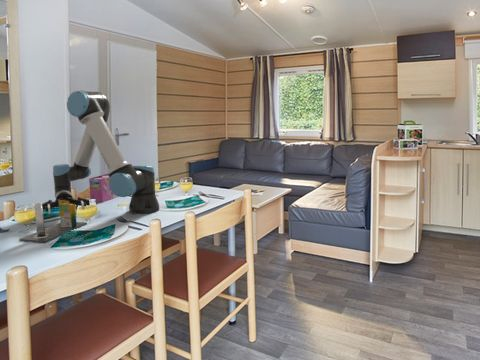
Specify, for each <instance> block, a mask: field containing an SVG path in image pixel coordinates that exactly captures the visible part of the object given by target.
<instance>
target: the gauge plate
mask: <svg viewBox="0 0 480 360" xmlns="http://www.w3.org/2000/svg"><path fill="white" fill-rule="evenodd" d="M76 223H77V226H75V227H67V226H61V225H60V222H59V223H56V224H53V225H51V226H49V227H46V228H45V236H43V237H38V236H37V231H36V232H33V233H31V234H28V235H25V236H24V237H21V238H19V239H18V241H19V242H26V243H27V242H28V243H38V244H39V243H40V244H47V243H49V242H50V241H53V240H57V239H58V238H60V237H63V236H64V235H63V234H65V233H67V232H69V231H71V230H74V229H76V230H78V229H79V228H83V227H85V226H87V225H88V222H80V221H76ZM82 226H83V227H82ZM77 228H78V229H77ZM74 231H75V230H74ZM71 232H72V231H71ZM69 233H70V232H69ZM67 234H68V233H67ZM65 235H66V234H65Z"/></svg>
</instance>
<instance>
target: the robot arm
mask: <svg viewBox="0 0 480 360" xmlns="http://www.w3.org/2000/svg"><path fill="white" fill-rule="evenodd" d="M66 109H67V112H68V113H69V114H70V115H71V116H73V117H75V118H77V119H78V121H79V123H80V124H81V125H83V126H85V129H84V132H83V135H82V138H81V141H80V144H79V146H78V151H77V153H76V156H75V160H74V162H73V165H71V166H70V165H69V164H67V163H60V164H54V165H53V167H52V175H53V176H52V177H53V184H54V197H55V200H54V201H53V200H52V199H48V200H47V201H45V202H43V203H40V204H41V205H42V208H43V211H44V210H45V212H46V213H47V212H48V215H49V214H51V209H55V208H59V202H58V200H64V201H69V204H75V206H81V209H82V211H83V210H85V207H87V206H90V203H91V201H90V199H88V198H82V197H80V196H78V197H76V199H75V198H74V197H73V194H72V183H71V182H75V181H78V180H84V179H86V178H88V177H90V176H91V173H92V169H91V167H90V165H91V162H92V158H93V155H94V152H95V150H96V148H97V149H98V152H100V156H102V159H103V160H104V163H105V164H106V166H107V168H108V169H109V171H108V173H107V174H108V175H109V177H110V179H109V187H110V190H111V191H112V192H113V193H114V194H115V195H117V196H119V197H120V198H126V197H131V198H130V202H129V206H128V212H129V213H130V214H131V213H132V214H138V215H139V214H140V215H141V214H142V215H143V214H144V215H145V214H150V213H155V212H158V211H160V203H159V200H158V198H157V196H156V183H155V182H156V179H155V168H154V167H153V166H151V165H132V163H131V162H127V160H126V158H125V157H124V155H123V152H122V151H121V149H120V148H119V145H118V144H117V142H116V140H115V138H114V137H113V134H112V133H111V130H110V129H109V127H108V125H107V122H108V119H109V116H110V111H111V105H110V101H109V99H108V98H107V95H105V94H103V93H102V92H100V91H86V90H75V91H73V92H71V93H70V94H69V96H68V97H67V101H66ZM62 203H66V202H62Z"/></svg>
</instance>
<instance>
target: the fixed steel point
mask: <svg viewBox="0 0 480 360" xmlns="http://www.w3.org/2000/svg"><path fill="white" fill-rule="evenodd" d="M41 204H42V203H40V202H37V203H35V204H34V215H35V225H36V232H37V236H38V237H43V236H45V229H46V228H45V220H44V219H45V218H44V210H43V208H42V205H41Z"/></svg>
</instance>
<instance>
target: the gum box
mask: <svg viewBox="0 0 480 360" xmlns="http://www.w3.org/2000/svg"><path fill="white" fill-rule="evenodd" d="M109 179H110V177H109V175H108V173H105V174H103V175H97V176H93V177H90V178H88V182H89V183H88V185H89V195H90V196H89V197H90V198H89V199H90V200H91V199H96V202H95V203H99V204H100V203H105V202H108V201H110V200H112V199H113V200H114V199H116V198H118V197H119V196H117V195H115V194H114V193H113V192H112V191H111V190H110V187H109Z"/></svg>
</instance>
